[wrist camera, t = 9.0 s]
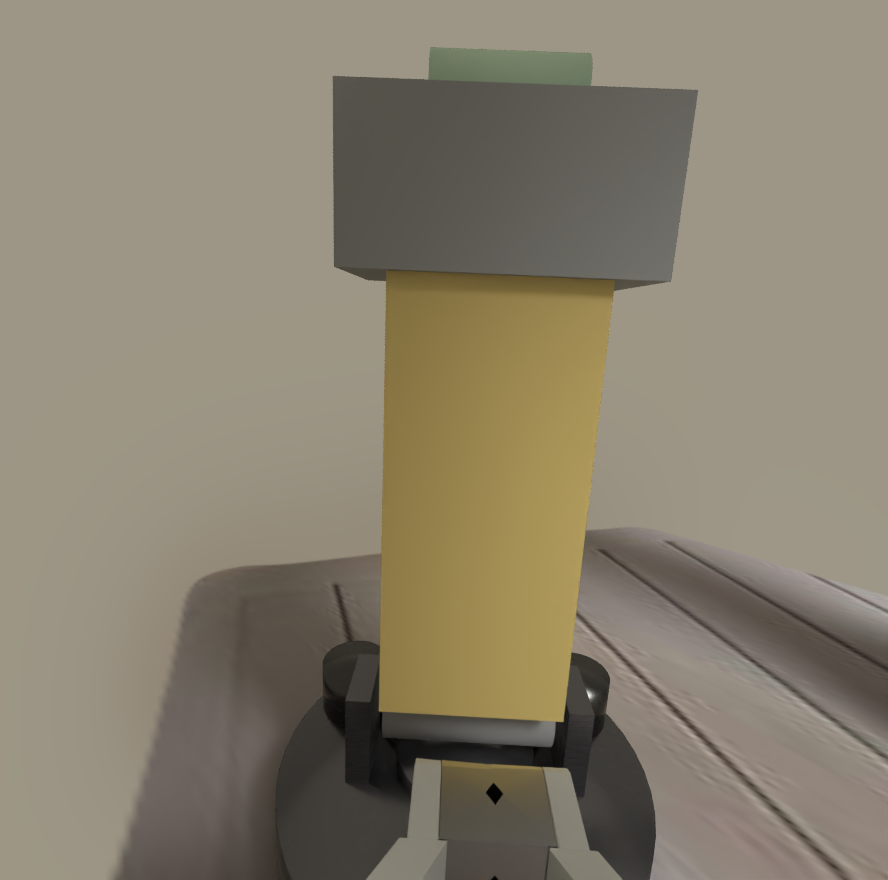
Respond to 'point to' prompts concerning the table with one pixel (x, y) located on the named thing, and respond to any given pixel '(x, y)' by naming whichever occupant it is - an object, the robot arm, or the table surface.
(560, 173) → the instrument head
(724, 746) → the table surface
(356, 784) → the levelling base
